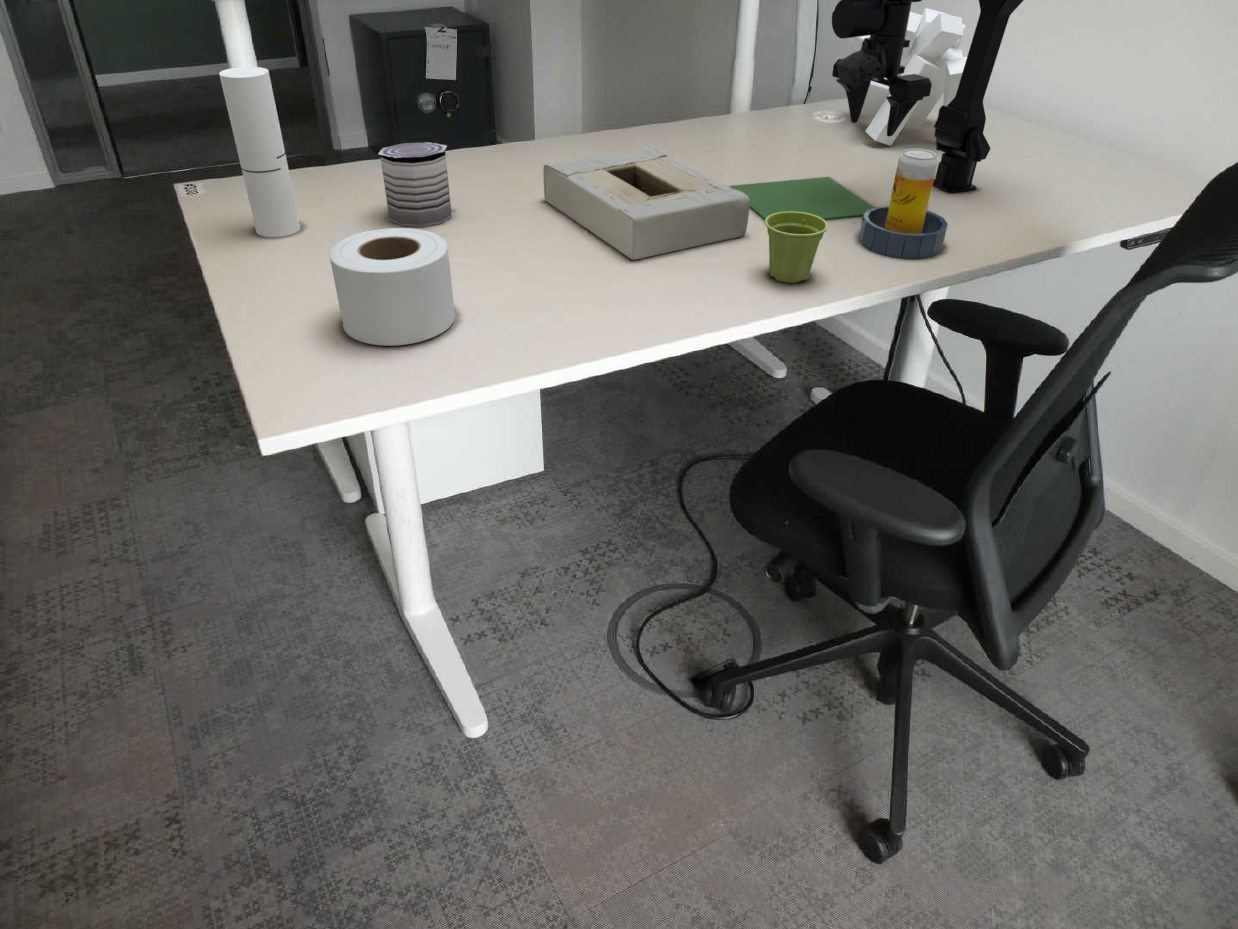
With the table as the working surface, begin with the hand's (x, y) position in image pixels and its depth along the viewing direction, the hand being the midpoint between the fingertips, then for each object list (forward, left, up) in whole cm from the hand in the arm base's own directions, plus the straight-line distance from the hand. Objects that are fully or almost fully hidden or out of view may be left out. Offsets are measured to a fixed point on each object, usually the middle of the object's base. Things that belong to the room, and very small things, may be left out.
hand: (871, 128), depth 156 cm
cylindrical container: (+102, -20, -14) cm, 105 cm away
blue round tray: (+3, +18, -14) cm, 23 cm away
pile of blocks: (-35, -38, -14) cm, 54 cm away
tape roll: (+88, +20, -14) cm, 91 cm away
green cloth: (+9, -5, -14) cm, 17 cm away
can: (+78, -19, -14) cm, 81 cm away
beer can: (+3, +18, -14) cm, 23 cm away
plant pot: (+28, +24, -14) cm, 39 cm away
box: (+41, -6, -14) cm, 44 cm away
